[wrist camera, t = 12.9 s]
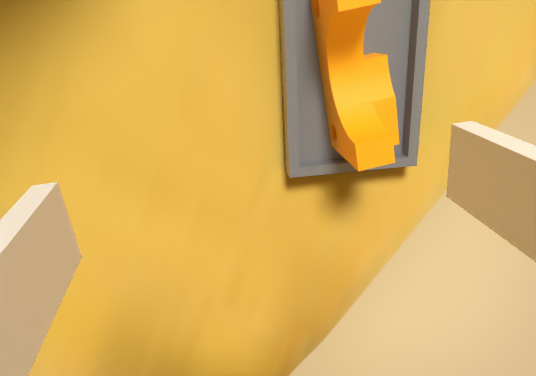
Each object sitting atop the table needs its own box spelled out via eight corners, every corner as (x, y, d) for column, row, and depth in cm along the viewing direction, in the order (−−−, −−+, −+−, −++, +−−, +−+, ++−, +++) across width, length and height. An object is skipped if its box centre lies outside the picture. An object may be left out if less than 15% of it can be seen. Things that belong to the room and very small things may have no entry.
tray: (276, -58, 29) (281, -63, 28) (421, -62, 31) (435, -68, 29) (284, 170, 35) (289, 177, 34) (405, 158, 37) (416, 165, 35)
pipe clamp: (382, 133, 35) (419, 156, 29) (331, 146, 34) (358, 171, 28) (366, -28, 30) (407, -41, 24) (307, -15, 30) (334, -25, 24)
